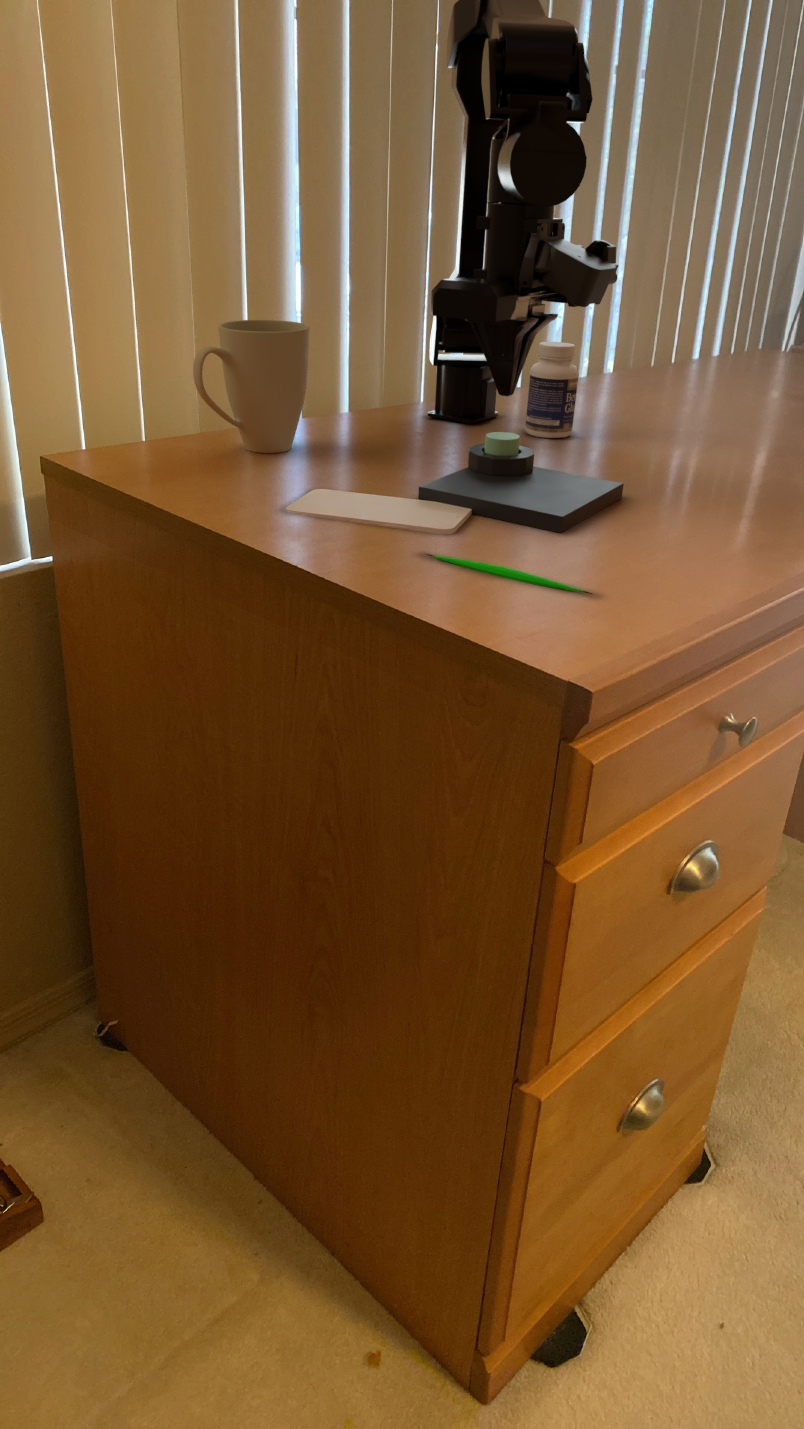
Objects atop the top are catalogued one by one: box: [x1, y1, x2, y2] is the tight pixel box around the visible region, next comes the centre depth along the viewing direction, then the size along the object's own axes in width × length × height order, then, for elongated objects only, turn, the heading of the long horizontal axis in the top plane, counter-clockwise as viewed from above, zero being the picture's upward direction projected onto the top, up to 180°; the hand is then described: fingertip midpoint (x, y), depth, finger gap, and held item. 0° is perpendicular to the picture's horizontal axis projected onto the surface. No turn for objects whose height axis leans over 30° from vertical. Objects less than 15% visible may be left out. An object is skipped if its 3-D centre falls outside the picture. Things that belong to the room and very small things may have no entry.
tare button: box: [484, 431, 521, 456], centre depth 92 cm, size 3×3×2 cm
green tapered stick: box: [425, 553, 593, 595], centre depth 71 cm, size 1×14×1 cm, turn 58°
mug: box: [192, 319, 310, 454], centre depth 99 cm, size 11×10×12 cm
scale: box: [417, 443, 625, 534], centre depth 88 cm, size 14×14×3 cm
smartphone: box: [285, 488, 473, 535], centre depth 84 cm, size 7×1×15 cm
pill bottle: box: [524, 341, 579, 439], centre depth 110 cm, size 5×5×10 cm
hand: (505, 395), depth 90 cm, fingers closed
